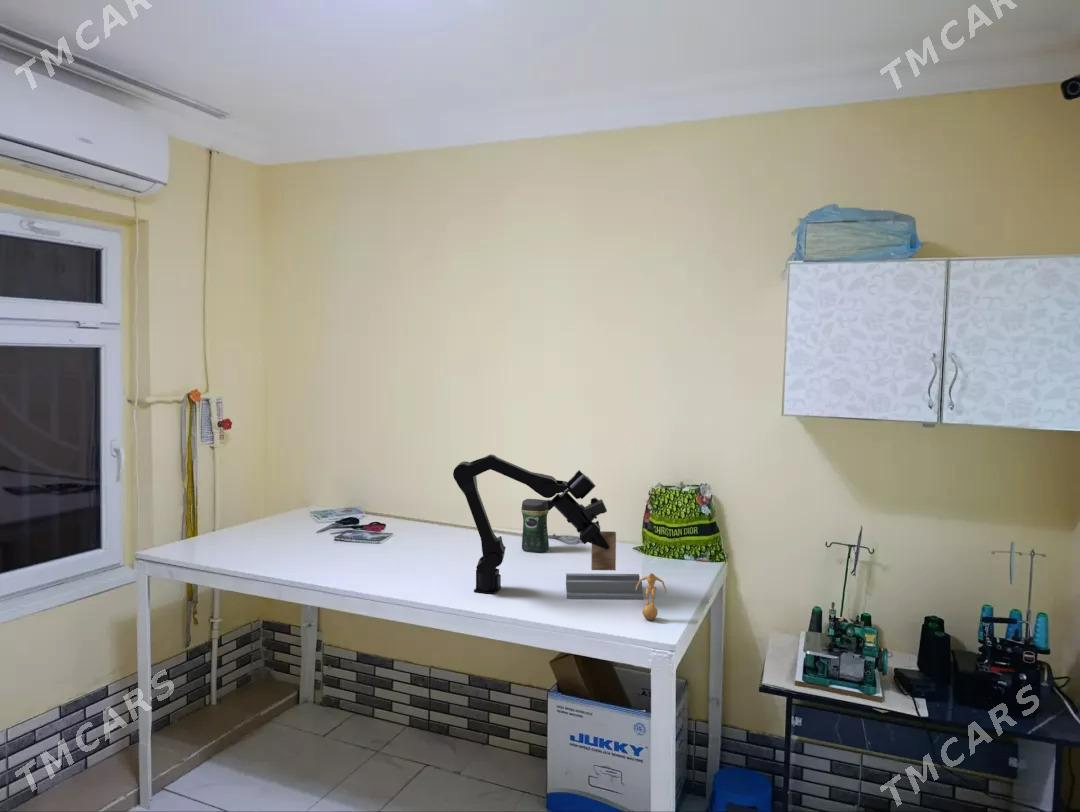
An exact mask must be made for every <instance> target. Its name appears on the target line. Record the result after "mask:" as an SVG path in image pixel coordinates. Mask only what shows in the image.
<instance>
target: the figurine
mask: <svg viewBox="0 0 1080 812" xmlns="http://www.w3.org/2000/svg"><path fill="white" fill-rule="evenodd" d="M646 580H647V584H648V585H646V586H645V596H646V604H645V605H644V606H643V608H642V610H641V611H642V612H641V613H642V615H643V618H644V619H646V620H649V621H652V620H655V619H656V618H657V616H658V613H659V612H658V609H657V607H656V606H655V599H656V593H657V586H655V584H656V581H659V582H660V583H662V587H663V589H664V593H665V594H667V587H666V585H665V582H664V580H663V579H661V578H659V577H658V576H656V575H655V574H654V573H652V572H650V573H649V574H648V575H646V576H644V577H641V578H640V580H639V582H638V584H637V586H636V589H635V590H637V587H638V585H639V584H640V582H641V581H642V582H643V581H646ZM650 593H651V594H652V596H651V597H652V602H651V603H650V596H649V594H650Z"/></svg>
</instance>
